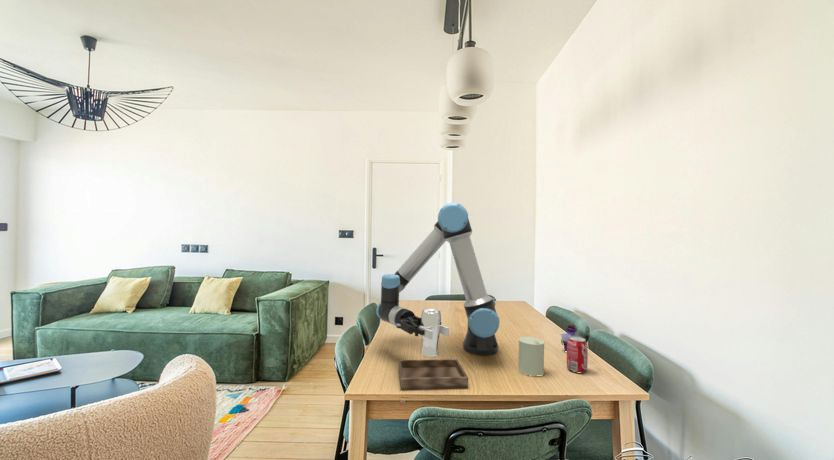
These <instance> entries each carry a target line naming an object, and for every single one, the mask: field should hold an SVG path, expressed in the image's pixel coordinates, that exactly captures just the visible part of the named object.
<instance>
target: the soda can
mask: <svg viewBox="0 0 834 460" xmlns="http://www.w3.org/2000/svg"><path fill="white" fill-rule="evenodd" d="M586 340H587V339H586V338H584V337H582V336H581V337H577V336H571V337H569V340H568V341H567V353H566V368H567V369H569V371H570V370H572V371H575V372H584V373H585V372H587V371H588V362H589V361H588V358H589V357H588V356H589V355H588V353H589V352H588V351H589V348H588V347H589V346H588V343H587V341H586ZM572 371H571V372H572ZM575 372H574V373H575Z"/></svg>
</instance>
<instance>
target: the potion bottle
mask: <svg viewBox="0 0 834 460" xmlns="http://www.w3.org/2000/svg"><path fill="white" fill-rule="evenodd" d="M565 329H566V331H567V333H561V334H560V336H561V340H560V341H561V342H560V343H561V345H562V346H563V347H564V352H565V351H567V341H568V340H569V337H571V336H577V337H582V336H580V335H577V334H576V333H577V332H578V330H577V329H578V328H577V327H576V325H575V324H572V323H568V324H567V326H566V327H565Z"/></svg>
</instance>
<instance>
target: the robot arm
mask: <svg viewBox="0 0 834 460" xmlns="http://www.w3.org/2000/svg"><path fill="white" fill-rule="evenodd" d="M472 234H473V229H472V226H471V221H470V219H469V213H468V211H467V209H466V208H465V206H463V205H462V204H460V203H457V202H450V203H447V204H445V205H443V206H442V207H441V208H440V210H439V211H438V214H437V222H436V223H435V224H434V225H433V229H432V230H431V232H430V233H429V234H428V235H427V236H426V237H425V239H424V240H422V242H421V243H420V245H419V246H417V247H416V249H415V250H414V251H413V252H412V253H411V254H410V256H409V257H408V258H407V259H406V260H405V261H404V262H403V263H402V265H401V266H400V267H399V268H398V270H396V272H394V273H393V274H389V273H388V274H387V273H385V274H383V275H382V276H381V282H380V285H381V286H380V288H381V289H380V290H381V291H380V302H379V304H378V305H377V307H376V309H375V313H376V316H377V318H379V319H380V320H382V321H384V322H386V323H388V324H391V325H393V326H395V327H396V329H400V330H402V331H403V332H406V333H408V335H414V336H415V337H419V335H420V336H421V337H422V336H424V337H426V338H428V339H433V331H432V330H429V329H427V328H424V327H422V326H421V317H419V316H416V314H415V313H414V312H413V311H412V310H410V309H407V308H405V307H401V306H400V293H401V292H402V291H403V290H405V289H406V287H407V286H408V284H409V283H410V282H411V281H412V280H413V279H414V277H416V275H417V274H418V273H419V272H420V271H421V269H422V268H424V266H425V265H426V264H427V263H428V262H429V260H431V258H432V257H433V256H434V255H435V254H436V253H437V252H438V250H439V249H440V248H441V247H442V246H443V245H444V244H445V243H446V242H447V243H448V244H449V246H450V250H451V253H452V256H453V260H454V263H455V267H456V269H457V273H458V276H459V277H458V278H459V280H460V283H461V288H462V291H463V295H464V297H465V301H464V303H463V308H464V311H465V315H466V318H467V331H466V334H465V337H464V340H463V343H462V349H463V350H464V351H465V352H467V353H469V354H472V355H477V356H478V355H479V356H492V355H495V354H497V353H498V352H499V344H498V341H497V337H496V333H497V332H498V330H499V328H500V317H499V315H498V313H497V310H496V300H495V298H494V297H492V296H490V295H489V294H487V290H486V286H485V284H484V283H485V282H484V279H483V277H482V274H481V270H480V267H479V266H480V265H479V262H478V260H477V256H476V253H475V249H474V247H473V242H472V239H471V235H472ZM440 334H441V335H443V336H446V337H450V327H447V326H445V325H442V324H441V329H440Z"/></svg>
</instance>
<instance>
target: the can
mask: <svg viewBox="0 0 834 460" xmlns="http://www.w3.org/2000/svg"><path fill="white" fill-rule="evenodd" d="M517 371H518V372H519V373H520V372H521V373H520V374H522V373H523V374H522V375H524V374H526V375H525V376H527V375H531V376H530V377H532V376H537V375H542V374H544V375H545V341H544V340H543V339H541V338H538V337H533V336H520V337H519V338H518V367H517Z"/></svg>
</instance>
